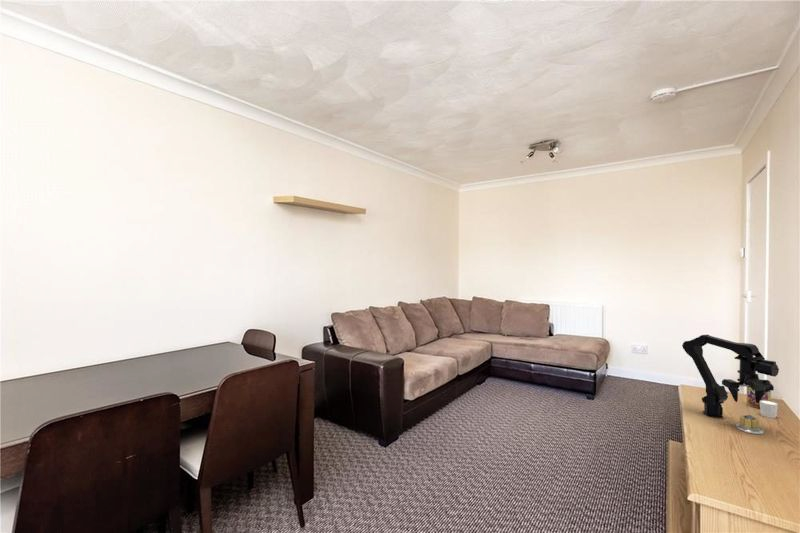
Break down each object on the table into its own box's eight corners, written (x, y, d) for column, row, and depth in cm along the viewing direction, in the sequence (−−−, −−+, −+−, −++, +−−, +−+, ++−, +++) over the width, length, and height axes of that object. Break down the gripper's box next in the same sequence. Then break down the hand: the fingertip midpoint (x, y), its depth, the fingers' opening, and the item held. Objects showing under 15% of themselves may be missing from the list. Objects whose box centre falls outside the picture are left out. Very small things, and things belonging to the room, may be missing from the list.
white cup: (769, 413, 194) (769, 400, 194) (781, 419, 187) (782, 405, 187) (755, 412, 195) (755, 399, 195) (767, 418, 188) (767, 404, 188)
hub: (742, 432, 172) (742, 418, 172) (730, 423, 182) (730, 410, 182) (769, 435, 169) (769, 421, 169) (755, 426, 179) (755, 413, 179)
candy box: (746, 405, 205) (746, 378, 204) (749, 404, 207) (749, 377, 206) (767, 411, 197) (768, 382, 197) (771, 409, 199) (771, 381, 199)
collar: (747, 428, 173) (747, 420, 173) (736, 422, 179) (736, 414, 179) (762, 429, 172) (762, 421, 172) (751, 423, 178) (751, 415, 178)
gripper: (738, 374, 172) (737, 407, 172) (784, 376, 169) (783, 410, 169) (721, 367, 183) (720, 398, 183) (764, 369, 180) (763, 401, 180)
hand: (746, 402), depth 178 cm, fingers open, 9 cm apart
